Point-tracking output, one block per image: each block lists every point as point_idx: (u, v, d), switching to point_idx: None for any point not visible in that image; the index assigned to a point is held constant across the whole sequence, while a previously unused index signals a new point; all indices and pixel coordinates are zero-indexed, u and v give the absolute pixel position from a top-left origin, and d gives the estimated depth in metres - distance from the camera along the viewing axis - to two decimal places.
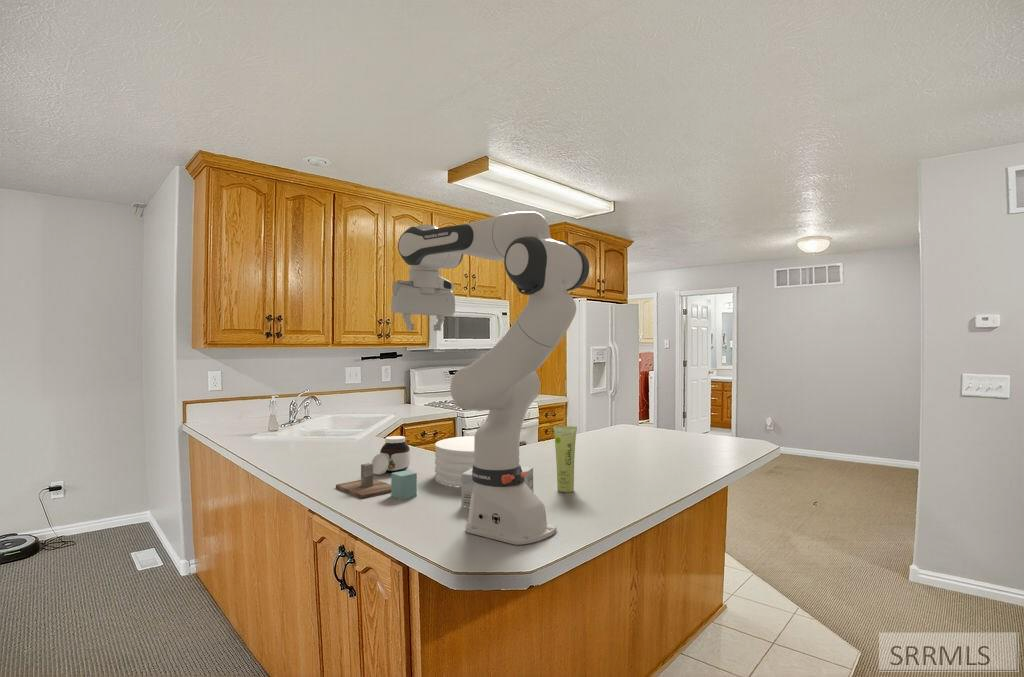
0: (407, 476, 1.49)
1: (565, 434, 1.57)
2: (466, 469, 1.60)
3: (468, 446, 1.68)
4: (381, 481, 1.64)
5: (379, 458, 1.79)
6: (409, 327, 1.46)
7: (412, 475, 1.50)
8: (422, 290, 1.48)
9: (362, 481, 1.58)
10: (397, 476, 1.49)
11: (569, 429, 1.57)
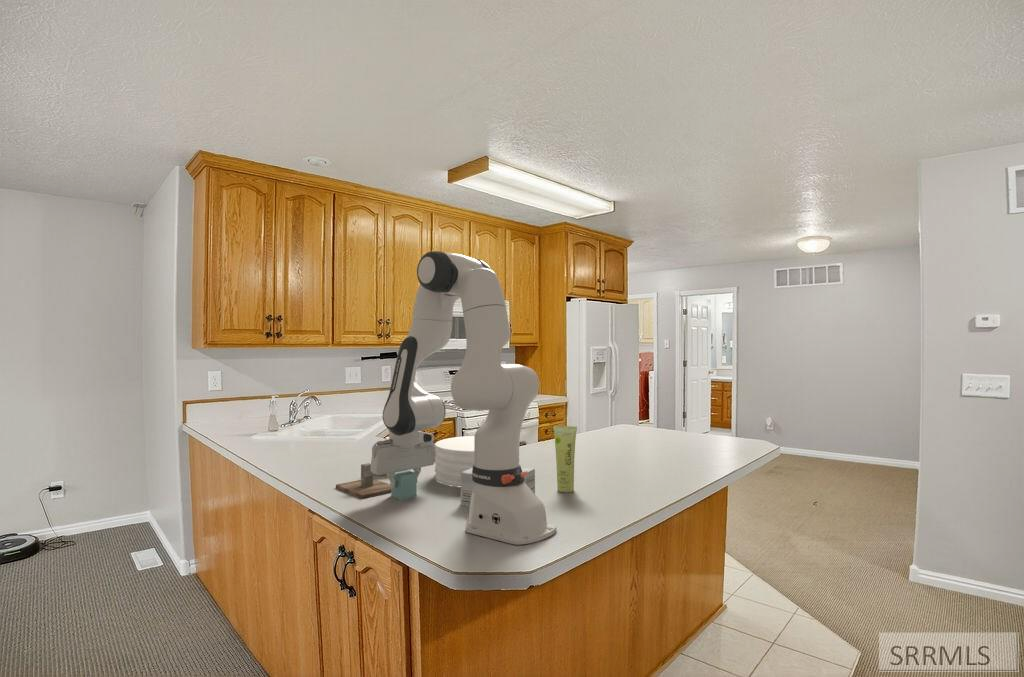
0: (407, 476, 1.49)
1: (565, 434, 1.57)
2: (466, 469, 1.60)
3: (468, 446, 1.68)
4: (381, 481, 1.64)
5: None
6: (393, 485, 1.48)
7: (412, 475, 1.50)
8: (402, 448, 1.48)
9: (362, 481, 1.58)
10: (397, 476, 1.49)
11: (569, 429, 1.57)
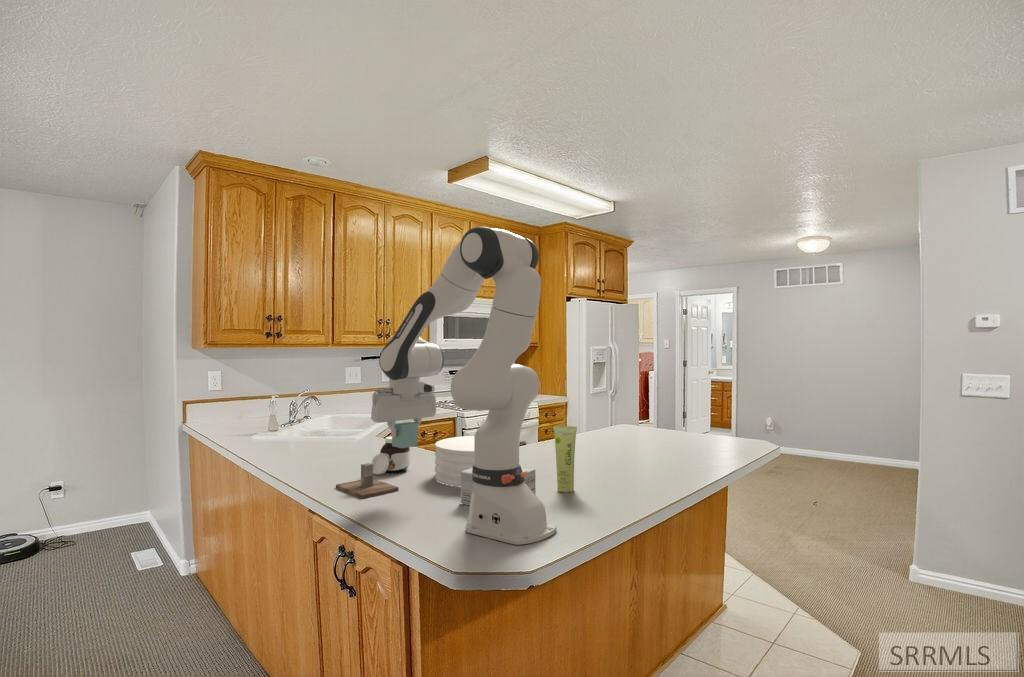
0: (408, 425, 1.49)
1: (565, 434, 1.57)
2: (466, 469, 1.61)
3: (468, 446, 1.68)
4: (381, 481, 1.64)
5: (379, 458, 1.79)
6: (394, 434, 1.48)
7: (413, 425, 1.51)
8: (402, 397, 1.49)
9: (362, 481, 1.58)
10: (398, 425, 1.49)
11: (569, 429, 1.57)
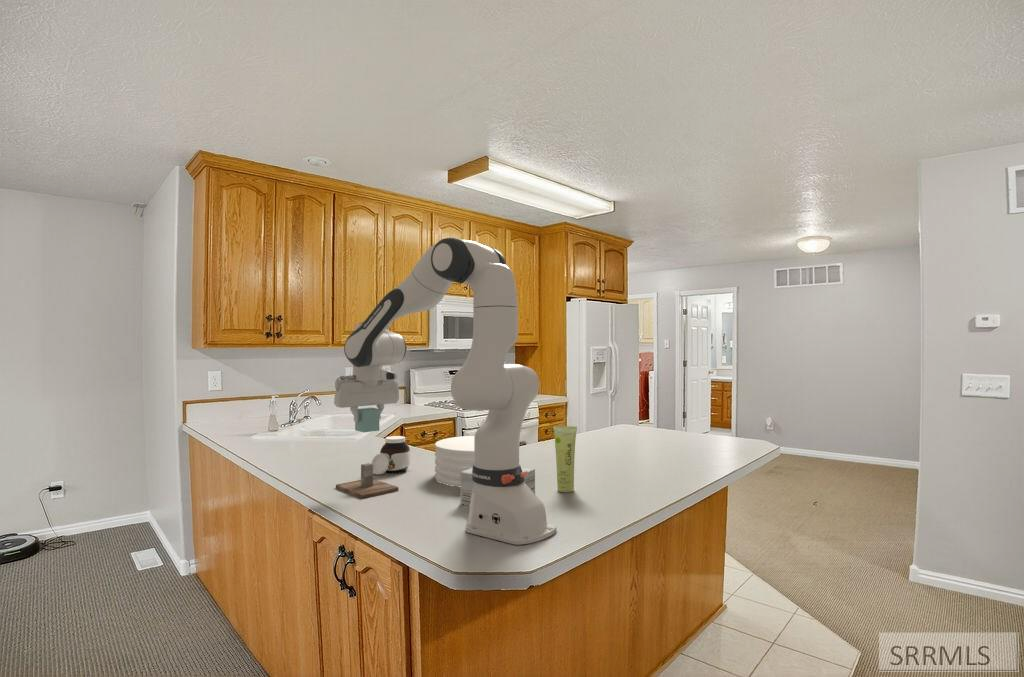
0: (370, 411, 1.57)
1: (565, 434, 1.57)
2: (466, 469, 1.61)
3: (468, 446, 1.68)
4: (381, 481, 1.64)
5: (379, 458, 1.79)
6: (356, 419, 1.56)
7: (375, 410, 1.58)
8: (364, 384, 1.56)
9: (362, 481, 1.58)
10: (360, 410, 1.57)
11: (569, 429, 1.57)
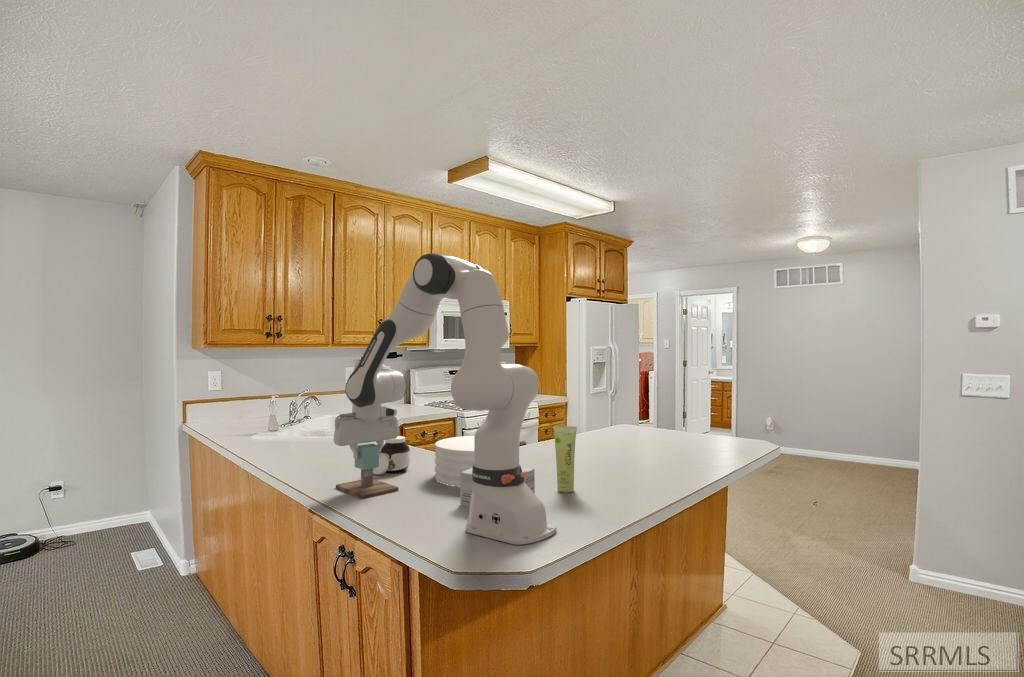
0: (369, 448, 1.56)
1: (565, 434, 1.57)
2: (466, 469, 1.61)
3: (468, 446, 1.69)
4: (381, 481, 1.64)
5: (379, 458, 1.79)
6: (355, 456, 1.55)
7: (374, 447, 1.58)
8: (364, 421, 1.56)
9: (362, 481, 1.58)
10: (360, 448, 1.56)
11: (569, 429, 1.57)
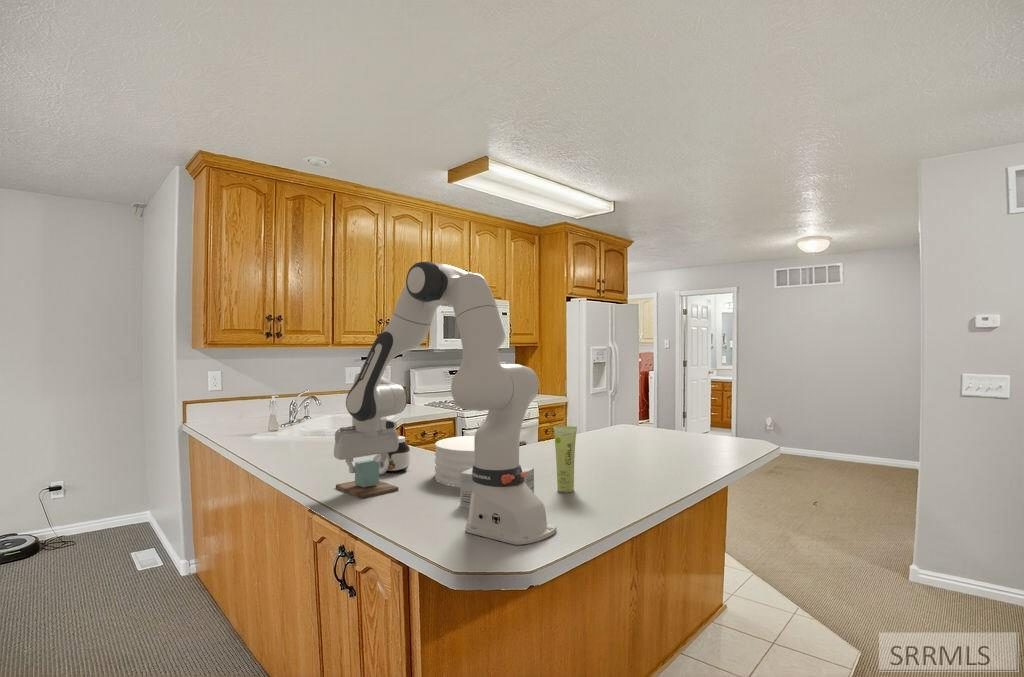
0: (369, 465, 1.56)
1: (565, 434, 1.57)
2: (466, 468, 1.61)
3: (468, 446, 1.69)
4: (381, 481, 1.64)
5: (379, 458, 1.79)
6: (351, 471, 1.54)
7: (374, 464, 1.57)
8: (364, 434, 1.56)
9: None
10: (360, 465, 1.56)
11: (569, 429, 1.57)
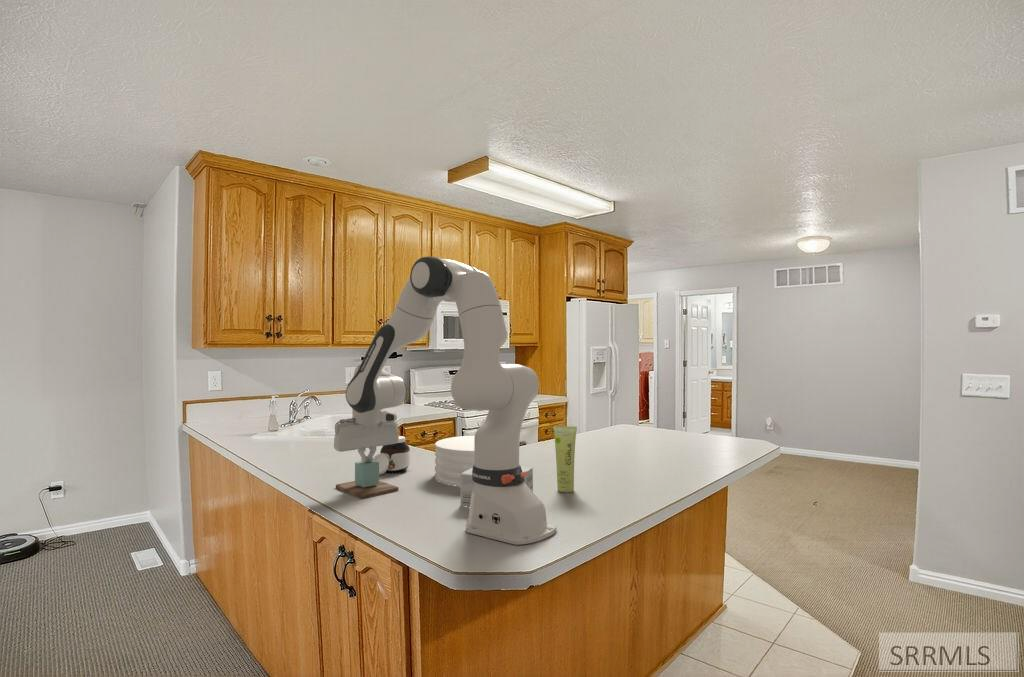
0: (369, 465, 1.56)
1: (565, 434, 1.57)
2: (466, 468, 1.61)
3: (468, 446, 1.69)
4: (381, 481, 1.64)
5: (379, 458, 1.79)
6: (363, 460, 1.57)
7: (374, 464, 1.57)
8: (364, 426, 1.56)
9: None
10: (360, 465, 1.56)
11: (569, 429, 1.57)
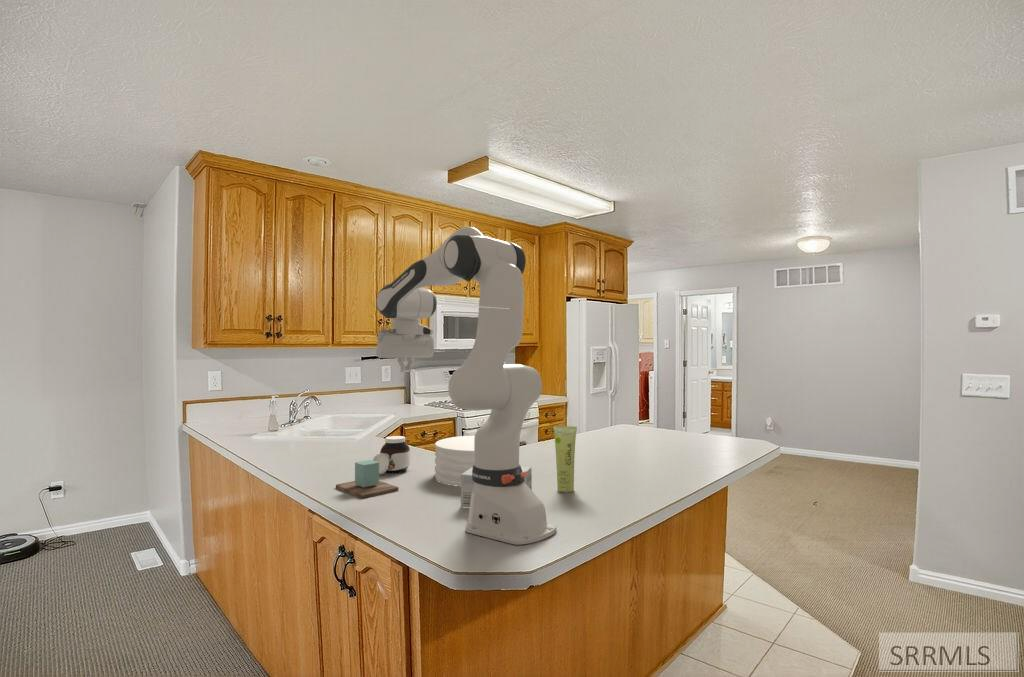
0: (369, 465, 1.56)
1: (565, 434, 1.57)
2: (466, 468, 1.61)
3: (468, 445, 1.69)
4: (381, 481, 1.64)
5: (379, 458, 1.79)
6: (403, 369, 1.70)
7: (374, 464, 1.57)
8: (404, 337, 1.68)
9: None
10: (360, 465, 1.56)
11: (569, 429, 1.57)
